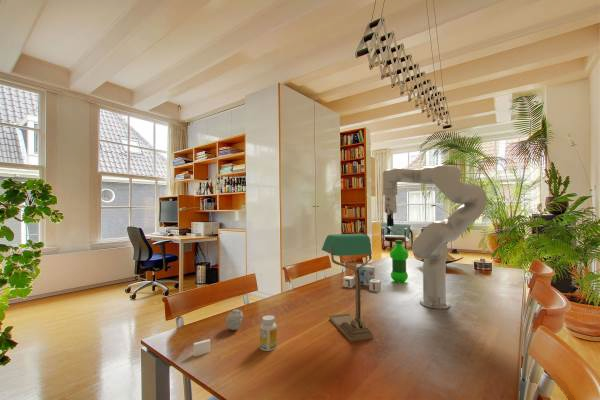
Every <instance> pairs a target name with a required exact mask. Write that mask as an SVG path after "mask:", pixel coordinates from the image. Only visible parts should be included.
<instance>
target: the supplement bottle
mask: <svg viewBox="0 0 600 400" xmlns="http://www.w3.org/2000/svg"><path fill="white" fill-rule="evenodd" d="M275 318H276V317H275V316H274V315H271V314H270V315H264V316H262V319H261V320H262V321H261V322H262V323H261V324H260V326H259V349H260V351H263V352H271V351H273V350H275V349H276V348H277V327H278V326H277V324H276V322H275V321H276V319H275Z"/></svg>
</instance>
